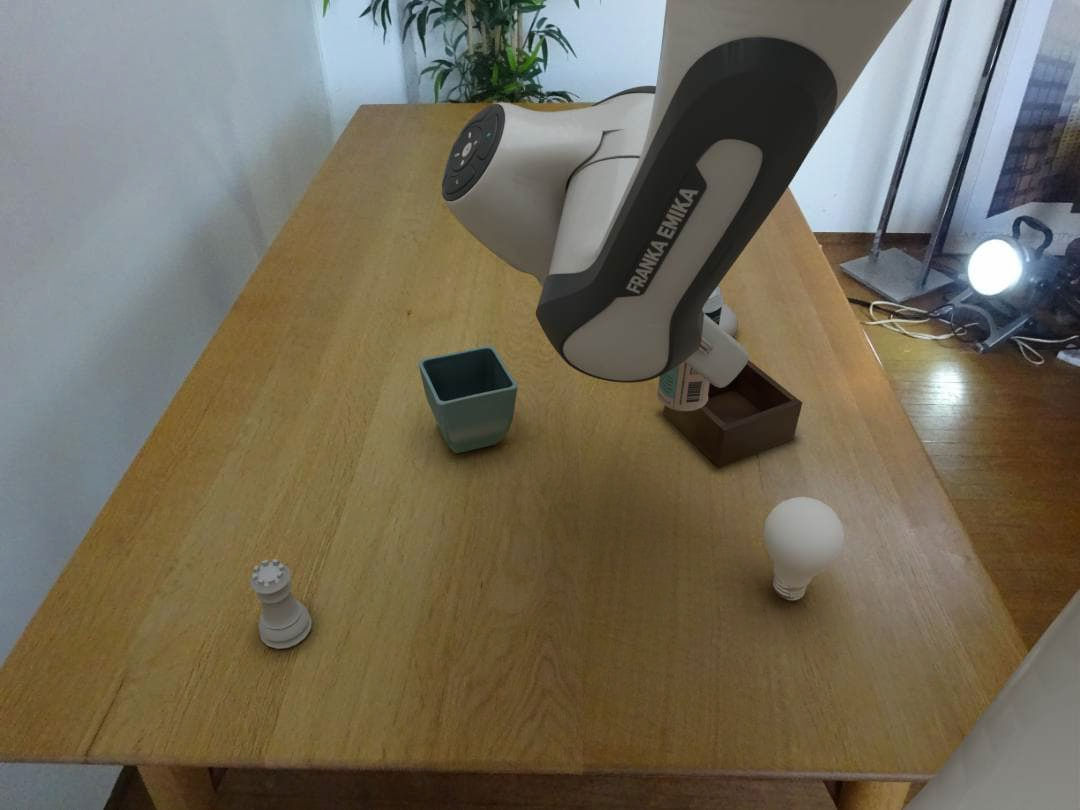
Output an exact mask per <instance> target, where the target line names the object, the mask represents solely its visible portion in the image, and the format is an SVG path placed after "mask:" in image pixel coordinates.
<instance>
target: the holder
mask: <svg viewBox="0 0 1080 810" xmlns="http://www.w3.org/2000/svg"><path fill="white" fill-rule="evenodd" d="M802 407H803V402H802V401H801V400H800V399H799V398H797V397H796V396H795V395H794V394H792V393H791V392H790V391H789V390H787V389H786V388H784V386H783V385H781V384H780V383H779V382H777V381H776V380H774V379H773V378H772V377H771V376H770V375H768V374H767V373H766V372H764V370H762V369H761V368H759V367H758V366H757V365H756V364H755V363H753V362H752V361H751V360H750V359H749V360H748V362H747V364H746V365H745V367H744V368H743V369H742V370H741V372H740V373H739V374H738V375H737V376H736V377H735V378H734V379H733V380H732V381H731V382H730V383H729V384H728V385H727V386H725V387H723V388H718V387H716V386H714V385H713V384H711V383H710V384H709V391H708V401H707V403H706V404H705V405H704V406H703V407H701V408H699V409H697V410H693V411H678V410H674V409H671V408H669V407H667V406H665V405H664V404H663V416H664V417H665V418H666V419H667V420H668V421H669V422H671V424H673V425H674V427H675V428H676V429H677V430H679V431H680V432H681V434H682V435H684V437H685V438H686V439H688V441H690V442H691V443H692V444H693V445H694V446H695V447H696V448H697V449H698V450H699V451H700V452H701V453H702V454H703V455H704V456H705V457H706V458H707V459H708V460H709V461H710V462H711V463H712V465H714V466H715V467H716V468H717V469H719V468H722V467H724V466H728V465H729V464H733V463H735V462H737V461H740V460H743V459H745V458H749V457H751V456H753V455H756V454H759V453H761V452H764V451H766V450H769V449H771V448H774V447H777V446H779V445H782V444H784V443H787V442H790V441H793V440H794V439H795V435H796V431H797V428H798V423H799V419H800V414H801V411H802Z"/></svg>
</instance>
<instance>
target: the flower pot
mask: <svg viewBox="0 0 1080 810" xmlns="http://www.w3.org/2000/svg"><path fill="white" fill-rule="evenodd" d="M417 364H418V369H419V373H420V377H421V382H422V385H423V391H424V392H425V397H426V400H427V403H428V406H429V409H430V410H431V412H432V415H433V416H434V419H435V421H436V423H437V425H438V428H439V430H440V432H441V435H442V438H443V439H444V441H445V443H446V444H447V446H448V448H449V449H450V450H451V451H452V452H453V453H455V454H461V453H466V452H470V451H474V450H477V449H483V448H486V447H491V446H495V445H497V444H499V443H500V442H501V440H503V438H504V437H505V436H506V435H507V433H508V431H509V430H510V428H511V425H512V423H513V419H514V415H515V408H516V402H517V401H516V400H517V394H518V386H519V385H518V384H517V381H516V380H515V379H514V377H513V375H512V374H511V372H510V371H509V370H508V368H507V366H506V365H505V363H504V361H503V360H502V358H501V357H500V355H499V353H498V351H497V349H496V348H495V347H494V346H493V345H484V346H478V347H475V348H470V349H465V350H461V351H454V352H450V353H445V354H444V353H443V354H438V355H435V356H430V357H425V358H423V359H420V360H418V361H417Z"/></svg>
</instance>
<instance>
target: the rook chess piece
mask: <svg viewBox="0 0 1080 810" xmlns="http://www.w3.org/2000/svg"><path fill="white" fill-rule="evenodd" d="M261 564H262V565H258V564H256V565H255V566H254V568H253V569H252V570H253V573H251V576H250V580H249V584H250V588H251V589H252V590H253V591H254V592H255V593H256V597H257V599H258V600H259V601H261V605H262V611H261V614H260V615H259V620H258V627H257V628H258V631H259V636H260V639H261V641H262V642H263V643H264V644H265V645H266V646H267V647H270V648H274V649H277V650H278V649H279V650H281V649H289V648H292V647H295V646H297V645H298V644H300V643H301V642H302V641H303V640H304V639H305V638H306V637H307V636H308V634H309V632H310V631H311V628H312V622H313V621H312V620H313V619H312V617H311V615H310V613H309V610H308V608H307V607H306V605H305V604H303V603H302V602H301V601H300V600H297V598H295V597H294V595H293V594H292V592H291V591H292V584H291V581H290V580H291V579H290V578H291V571H290V568H289V567H288V566H287V565H286V564H283V563H282V562H281V563H280V560H279V559H276V558H273V559H272V560H271V562H269V559H268V558H266V559H264V560H261Z"/></svg>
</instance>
